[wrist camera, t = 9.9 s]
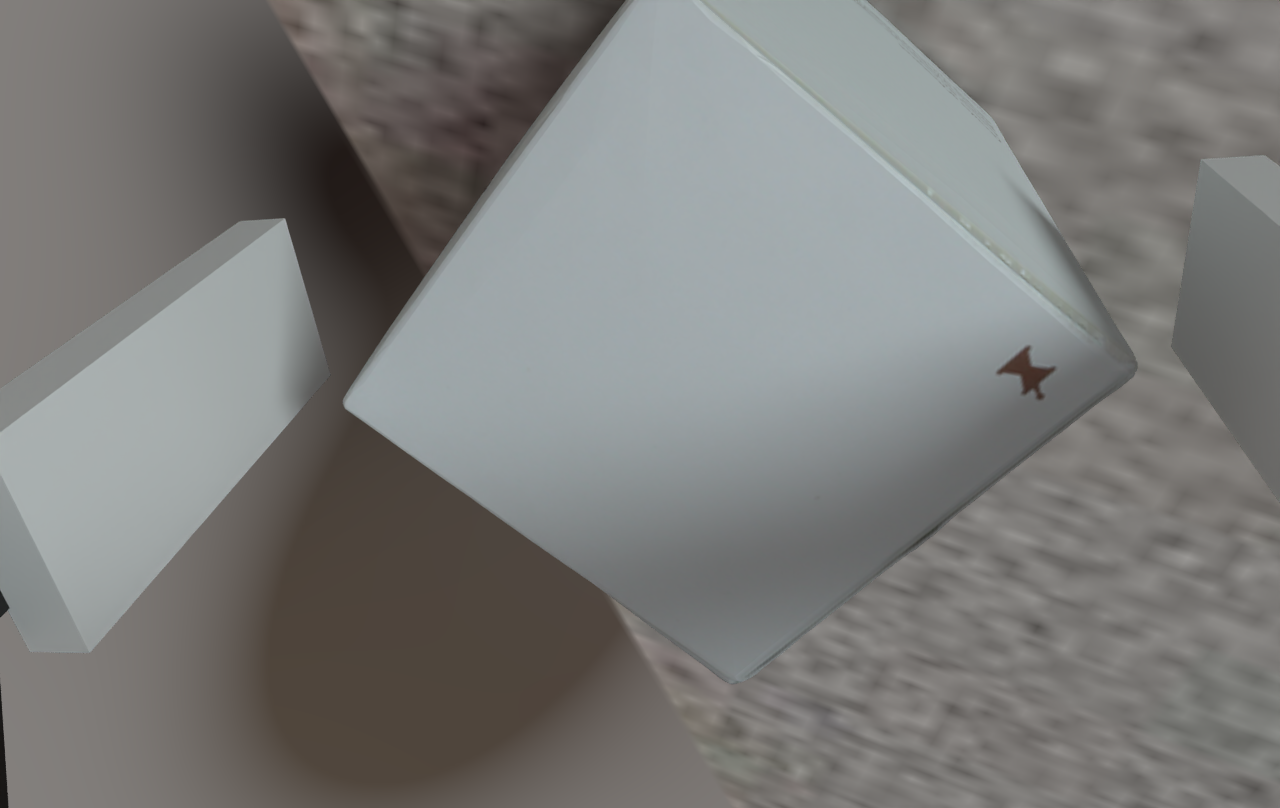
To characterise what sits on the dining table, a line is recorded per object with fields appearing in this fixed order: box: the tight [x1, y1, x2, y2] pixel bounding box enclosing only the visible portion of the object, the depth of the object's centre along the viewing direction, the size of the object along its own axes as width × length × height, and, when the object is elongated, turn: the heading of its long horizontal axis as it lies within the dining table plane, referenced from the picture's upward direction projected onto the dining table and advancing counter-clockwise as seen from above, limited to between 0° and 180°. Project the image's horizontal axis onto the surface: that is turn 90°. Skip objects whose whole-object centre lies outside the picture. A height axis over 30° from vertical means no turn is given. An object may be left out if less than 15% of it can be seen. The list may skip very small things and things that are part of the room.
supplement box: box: [343, 0, 1137, 684], centre depth 18 cm, size 7×7×13 cm
